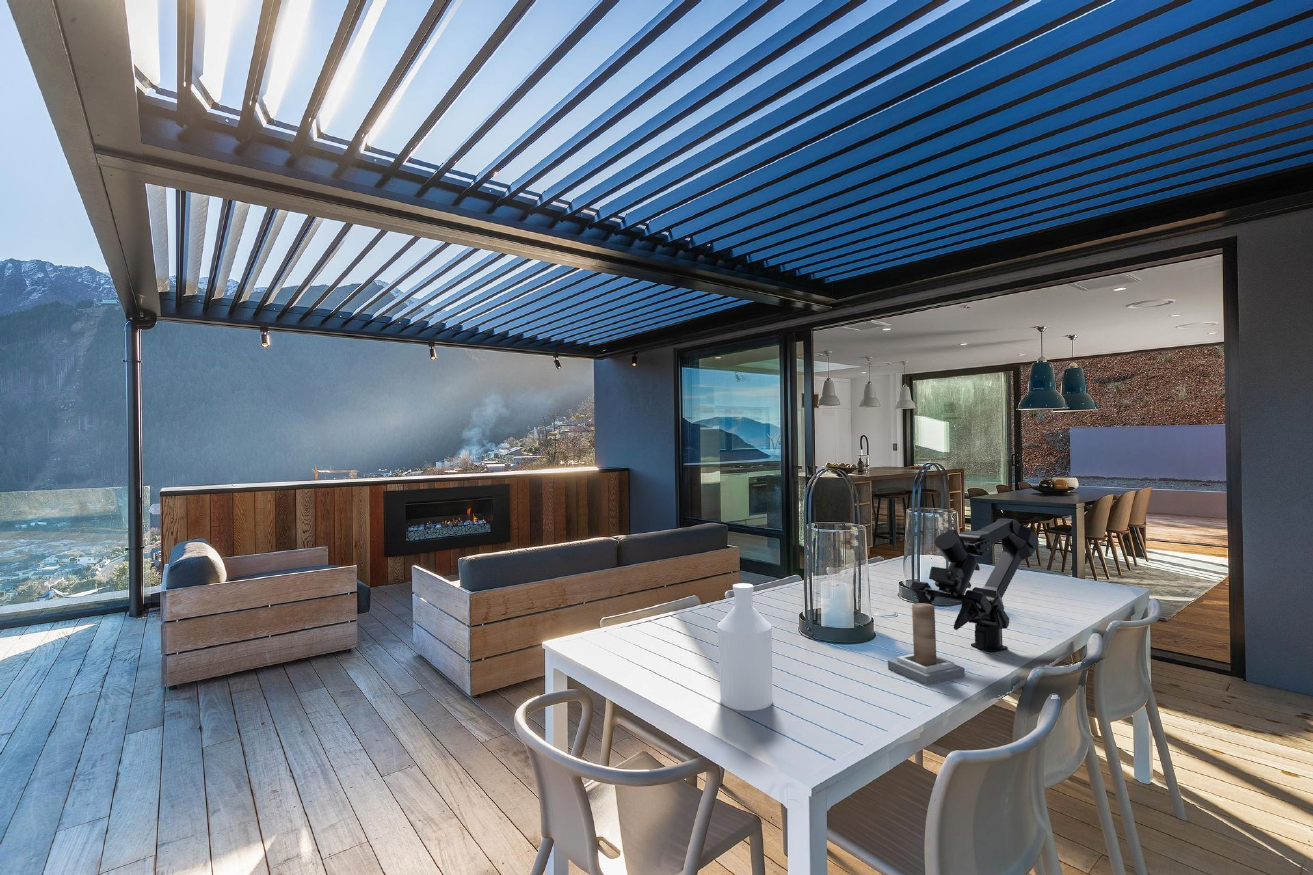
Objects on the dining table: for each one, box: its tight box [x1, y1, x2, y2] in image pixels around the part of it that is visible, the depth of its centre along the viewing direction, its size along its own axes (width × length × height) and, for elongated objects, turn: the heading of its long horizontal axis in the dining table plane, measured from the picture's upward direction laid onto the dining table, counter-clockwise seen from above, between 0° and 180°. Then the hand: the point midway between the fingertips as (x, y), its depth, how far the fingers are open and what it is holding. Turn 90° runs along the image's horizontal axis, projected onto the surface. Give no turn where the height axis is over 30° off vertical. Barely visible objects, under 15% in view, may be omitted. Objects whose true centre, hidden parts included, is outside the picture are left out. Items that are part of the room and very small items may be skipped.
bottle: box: [716, 582, 774, 712], centre depth 134 cm, size 12×12×25 cm
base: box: [887, 653, 966, 686], centre depth 147 cm, size 12×12×3 cm
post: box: [911, 602, 937, 667], centre depth 147 cm, size 5×5×14 cm
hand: (936, 624), depth 150 cm, fingers open, 9 cm apart
